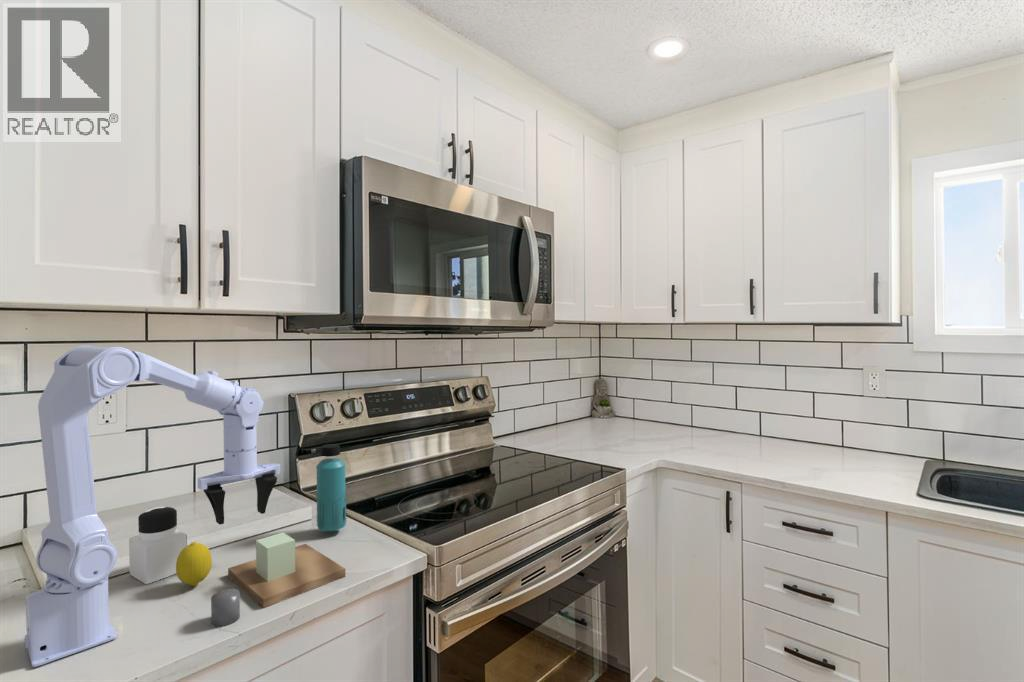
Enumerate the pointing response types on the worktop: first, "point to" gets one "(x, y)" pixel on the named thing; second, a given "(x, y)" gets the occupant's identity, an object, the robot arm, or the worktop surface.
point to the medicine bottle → (156, 545)
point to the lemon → (193, 563)
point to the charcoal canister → (225, 607)
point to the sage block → (275, 556)
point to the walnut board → (287, 577)
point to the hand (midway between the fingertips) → (241, 517)
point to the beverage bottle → (331, 490)
